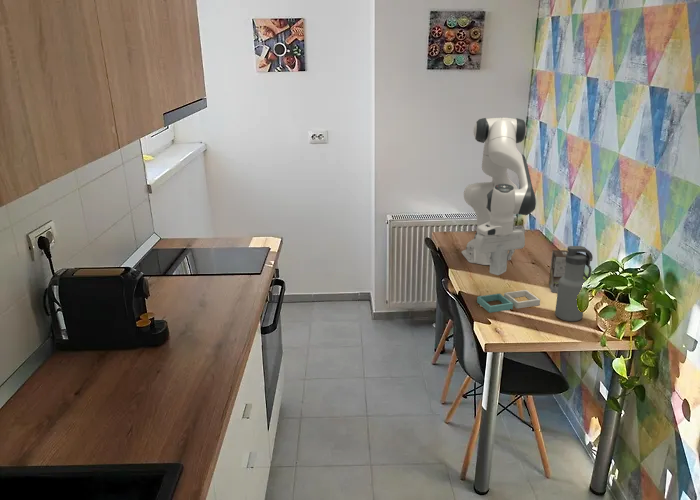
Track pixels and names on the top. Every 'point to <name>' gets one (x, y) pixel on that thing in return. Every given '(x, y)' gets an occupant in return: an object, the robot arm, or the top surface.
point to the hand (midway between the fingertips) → (498, 261)
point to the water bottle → (572, 283)
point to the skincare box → (498, 260)
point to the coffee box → (557, 268)
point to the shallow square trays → (508, 301)
